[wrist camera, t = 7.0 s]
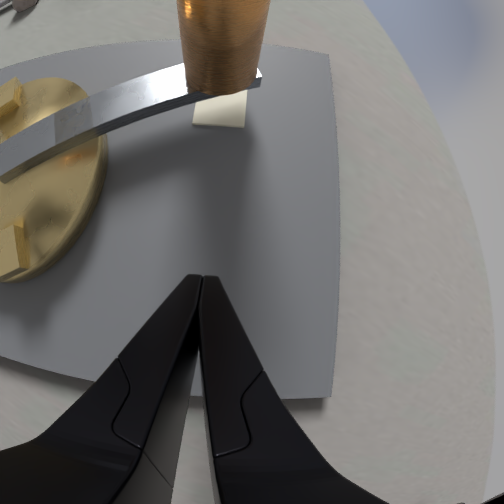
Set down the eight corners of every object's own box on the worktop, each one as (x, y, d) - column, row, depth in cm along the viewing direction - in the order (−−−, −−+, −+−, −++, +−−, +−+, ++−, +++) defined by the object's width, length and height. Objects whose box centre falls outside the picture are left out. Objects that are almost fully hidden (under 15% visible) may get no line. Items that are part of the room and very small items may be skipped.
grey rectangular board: (-71, 320, 15) (-83, 320, 13) (-17, 84, 18) (-24, 76, 16) (323, 390, 18) (332, 398, 16) (323, 66, 21) (329, 52, 19)
